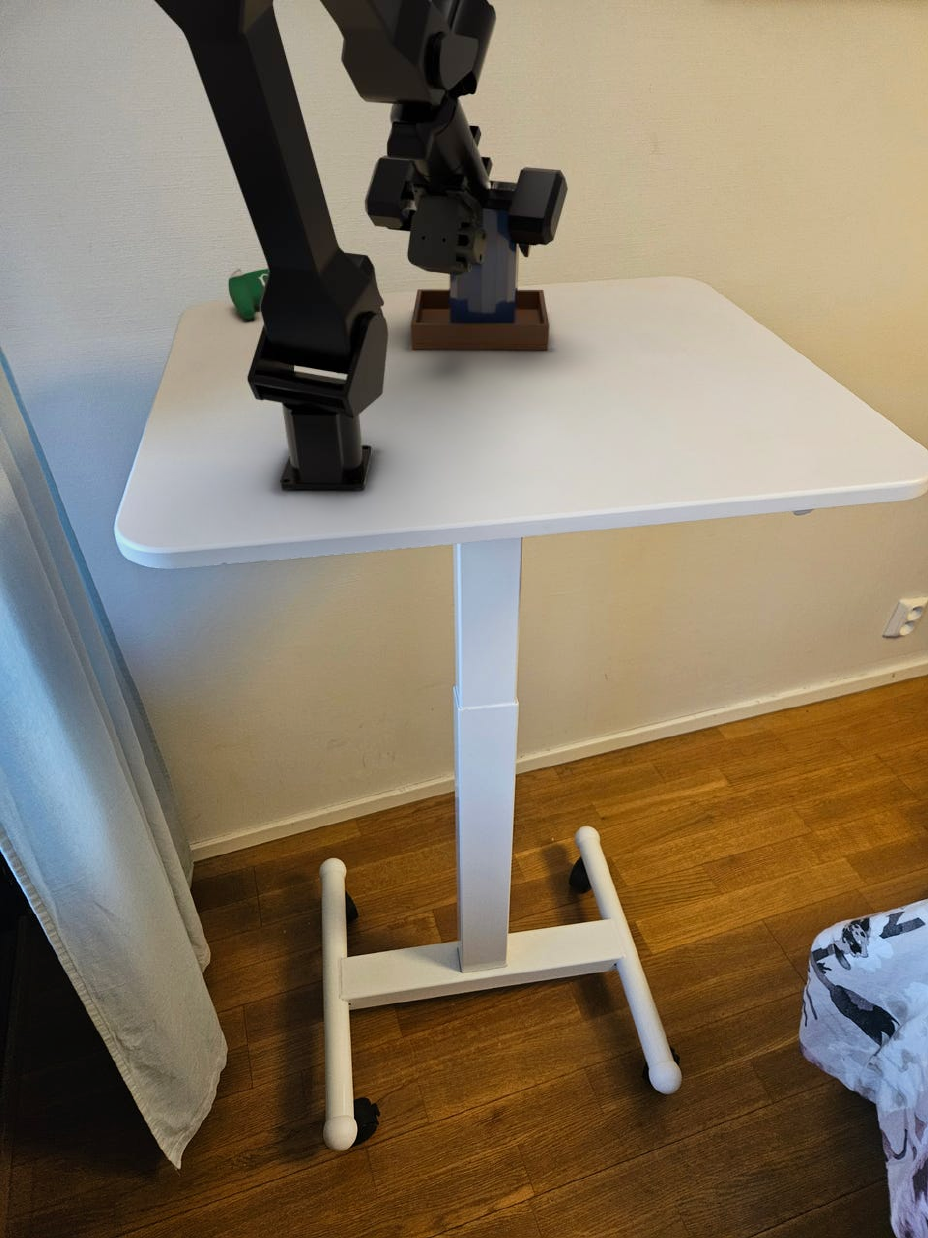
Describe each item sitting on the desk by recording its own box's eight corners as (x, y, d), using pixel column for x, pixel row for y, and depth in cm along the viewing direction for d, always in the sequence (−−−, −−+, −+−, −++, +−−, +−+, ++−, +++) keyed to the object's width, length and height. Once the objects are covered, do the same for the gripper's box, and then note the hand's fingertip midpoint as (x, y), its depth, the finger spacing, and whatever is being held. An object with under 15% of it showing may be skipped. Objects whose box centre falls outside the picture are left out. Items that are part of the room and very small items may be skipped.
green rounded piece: (311, 315, 100) (290, 270, 100) (319, 298, 97) (297, 251, 97) (239, 333, 96) (216, 285, 96) (245, 315, 93) (222, 265, 93)
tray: (547, 350, 87) (549, 324, 86) (411, 349, 87) (410, 324, 86) (542, 313, 96) (543, 289, 94) (418, 312, 96) (417, 288, 94)
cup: (528, 323, 92) (534, 191, 83) (490, 343, 87) (492, 205, 79) (475, 309, 95) (476, 181, 87) (436, 328, 91) (433, 195, 82)
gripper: (319, 223, 75) (383, 309, 90) (518, 245, 69) (551, 333, 84) (354, 106, 76) (411, 211, 90) (554, 120, 70) (580, 229, 85)
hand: (485, 248), depth 87 cm, fingers open, 9 cm apart
